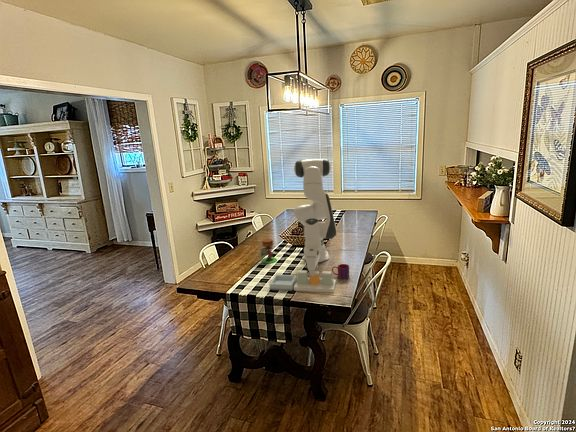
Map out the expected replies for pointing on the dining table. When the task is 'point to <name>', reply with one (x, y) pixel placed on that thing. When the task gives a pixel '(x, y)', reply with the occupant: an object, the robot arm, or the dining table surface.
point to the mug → (342, 271)
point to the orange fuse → (315, 278)
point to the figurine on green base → (267, 251)
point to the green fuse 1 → (302, 276)
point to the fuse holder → (315, 286)
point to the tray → (283, 282)
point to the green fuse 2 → (327, 277)
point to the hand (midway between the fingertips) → (314, 272)
